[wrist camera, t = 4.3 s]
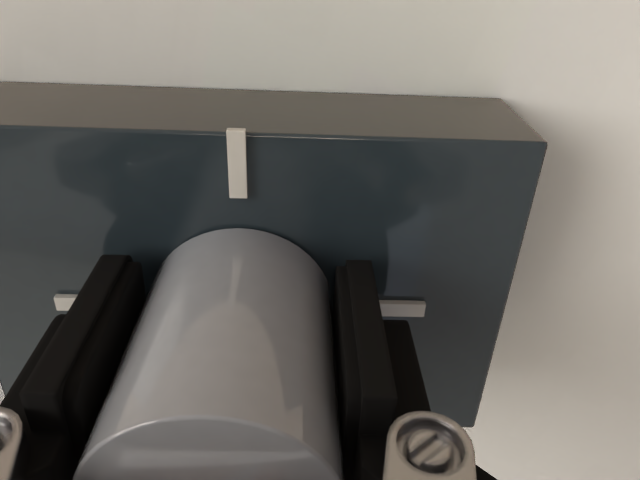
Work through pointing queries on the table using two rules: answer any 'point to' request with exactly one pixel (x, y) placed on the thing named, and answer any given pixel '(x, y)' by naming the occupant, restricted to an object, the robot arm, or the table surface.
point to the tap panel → (272, 202)
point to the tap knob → (225, 370)
